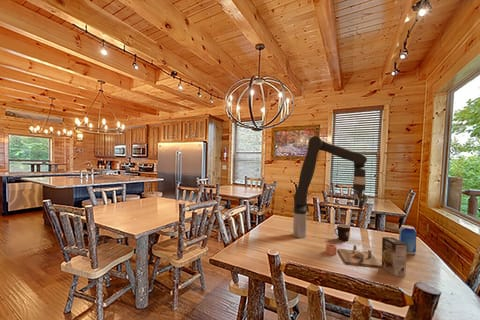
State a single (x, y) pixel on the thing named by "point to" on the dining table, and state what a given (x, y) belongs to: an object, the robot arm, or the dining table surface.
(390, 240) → the coffee box
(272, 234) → the dining table surface
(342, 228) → the coffee mug
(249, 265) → the dining table surface
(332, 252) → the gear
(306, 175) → the robot arm
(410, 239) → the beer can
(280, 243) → the dining table surface
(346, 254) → the carrier
